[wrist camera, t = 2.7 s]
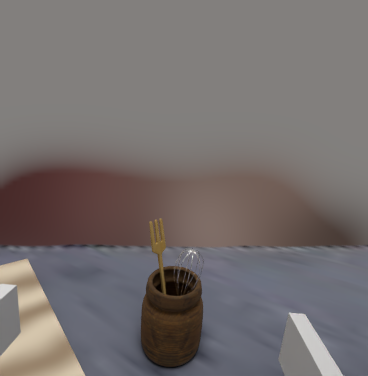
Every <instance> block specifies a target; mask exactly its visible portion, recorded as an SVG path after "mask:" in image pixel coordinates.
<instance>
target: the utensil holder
mask: <svg viewBox="0 0 368 376" xmlns="http://www.w3.org/2000/svg"><path fill="white" fill-rule="evenodd" d="M154 223H155V233H156V243H155V239H154V231H153V223H152V221H150V223H149V224H150V234H151V245H152V252H154V253H156V254H158V261H159V269H157V270H156V271H154V272H153V273H152V274H151V275H150V276H149V278H148V282H147V286H146V295H145V297H144V300H143V304H142V316H141V342H142V347H143V350H144V352H145V354H146V355H147V356H148V358H150V359H151V360H152V361H153V362H155V363H157V364H159V365H162V366H166V367H175V366H179V365H182V364H184V363H186V362H188V361H189V360H190V359H191V358H192V357H193V356H194V355H195V353H196V351H197V349H198V346H199V343H200V337H201V329H202V319H203V302H202V298H201V294H202V287H201V281H200V276H199V274H198V276H199V277H198V276H197V275H196V274H195V272H193V271H191V269H190V270H189V269H187V267H186V268H183V267H179V265H178V266H176V265H175V266H168V267H163V262H162V252H163V251H164V250H165V248H166V245H165V238H164V230H163V222H162V219H160V220H159V223H160V233H161V241H160V237H159V230H158V222H157V220H155V221H154ZM192 249H193V248H192ZM192 249H189V250H191V251H192ZM185 250H186V249H185ZM183 251H184V250H183ZM195 251H198V250H194V251H192V252H194V253H195ZM185 252H187V251H185ZM198 252H199V251H198ZM198 252H196V253H198ZM182 253H184V252H182ZM182 253H181V254H180V255H182ZM196 253H195V254H196ZM189 254H191V252H190V253H189ZM189 254H188V255H189ZM198 254H199V256H200V253H198ZM180 255H179V256H180ZM188 255H187V256H188ZM196 255H197V254H196ZM187 256H186V257H187ZM186 257H185V258H186ZM197 257H198V256H197ZM201 257H202V256H201ZM178 258H179V257H178ZM185 258H184V259H185ZM189 258H190V256H189ZM180 259H181V257H180ZM202 259H203V258H202ZM177 260H178V259H177ZM183 261H184V260H183ZM188 261H189V259H188ZM192 261H193V257H192ZM198 261H199V258H198ZM179 262H180V260H179ZM176 263H177V261H176ZM182 263H183V262H182ZM199 263H200V261H199ZM203 263H204V261H203ZM181 265H182V264H181ZM187 265H188V263H187ZM197 265H198V263H197ZM191 267H192V264H191ZM196 268H197V267H196ZM202 268H203V266H202ZM195 271H196V270H195ZM199 272H200V269H199ZM201 272H202V270H201ZM200 275H201V274H200Z"/></svg>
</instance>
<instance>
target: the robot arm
mask: <svg viewBox="0 0 368 376" xmlns="http://www.w3.org/2000/svg"><path fill="white" fill-rule="evenodd" d="M20 333H21V329H20V317H19V305H18V292H17V285H10V284H0V356H1V355H2V354H3V353H4V351H5V350H6V349H7V348H8V347H9V346H10V345H11V343H12V342H13V341H14V340H15V339H16V338H17V337H18V335H19V334H20ZM279 362H280V365H281V367H282V370H283V373H284V375H285V376H343V375H342V373H341V371H340V370H339V368H338V367H337V365H336V363H335V362H334V360H333V359H332V357H331V355H330V354H329V352H328V351H327V349H326V347H325V346H324V344H323V343H322V341H321V339H320V338H319V336H318V334H317V333H316V331H315V330H314V328H313V326H312V325H311V323H310V322H309V320H308V318H307V317H306V315H305V314H297V313H289V314H288V318H287V323H286V328H285V332H284V337H283V341H282V346H281V351H280V355H279Z"/></svg>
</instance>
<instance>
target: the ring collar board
mask: <svg viewBox="0 0 368 376" xmlns="http://www.w3.org/2000/svg"><path fill="white" fill-rule="evenodd" d="M0 284H10V285H17V292H18V305H19V317H20V329H21V333H20V334H19V335H18V337H17V338H16V339H15V340H14V341H13V342H12V343H11V345H10V346H9V347H8V348H7V349H6V350H5V351H4V353H3V354H2V355H1V356H0V376H85V374H84V372H83V370H82V368H81V366H80V364H79V362H78V360H77V358H76V356H75V354H74V352H73V350H72V348H71V346H70V344H69V342H68V340H67V338H66V336H65V334H64V332H63V330H62V328H61V326H60V324H59V322H58V320H57V318H56V316H55V314H54V312H53V310H52V308H51V306H50V304H49V302H48V300H47V298H46V296H45V294H44V292H43V290H42V288H41V286H40V284H39V281H38V279H37V277H36V275H35V273H34V271H33V269H32V267H31V265H30V263H29V261H28V259H24V260H20V261H16V262H13V263H9V264H5V265H1V266H0Z"/></svg>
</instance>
